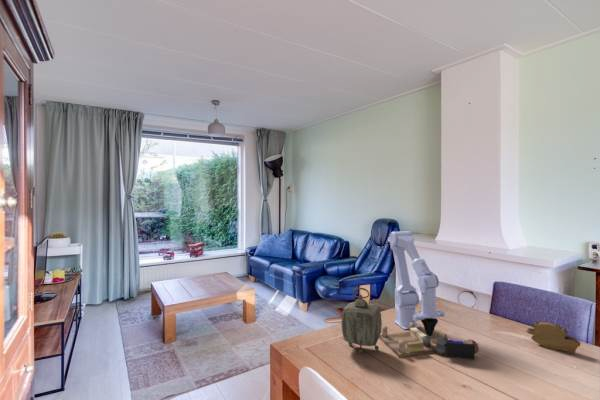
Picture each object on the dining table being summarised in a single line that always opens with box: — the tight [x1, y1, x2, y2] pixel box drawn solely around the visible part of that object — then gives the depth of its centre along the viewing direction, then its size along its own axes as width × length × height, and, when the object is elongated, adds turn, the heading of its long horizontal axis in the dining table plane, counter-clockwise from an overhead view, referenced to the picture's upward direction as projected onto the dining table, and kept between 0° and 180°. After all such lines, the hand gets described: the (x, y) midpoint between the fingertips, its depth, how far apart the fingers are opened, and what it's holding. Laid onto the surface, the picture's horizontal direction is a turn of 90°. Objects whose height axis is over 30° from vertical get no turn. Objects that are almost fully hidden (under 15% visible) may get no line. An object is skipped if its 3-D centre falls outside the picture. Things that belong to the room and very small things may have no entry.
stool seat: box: [379, 323, 437, 358], centre depth 129 cm, size 17×17×5 cm
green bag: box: [340, 287, 383, 354], centre depth 125 cm, size 14×9×25 cm, turn 65°
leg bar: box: [409, 328, 432, 347], centre depth 129 cm, size 11×3×3 cm, turn 12°
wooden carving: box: [525, 321, 581, 354], centre depth 123 cm, size 16×5×10 cm, turn 47°
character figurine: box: [435, 333, 480, 360], centre depth 119 cm, size 8×7×15 cm
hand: (429, 335), depth 132 cm, fingers closed
